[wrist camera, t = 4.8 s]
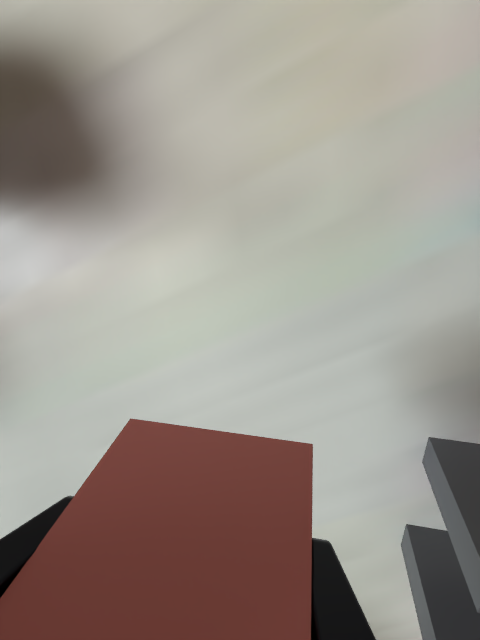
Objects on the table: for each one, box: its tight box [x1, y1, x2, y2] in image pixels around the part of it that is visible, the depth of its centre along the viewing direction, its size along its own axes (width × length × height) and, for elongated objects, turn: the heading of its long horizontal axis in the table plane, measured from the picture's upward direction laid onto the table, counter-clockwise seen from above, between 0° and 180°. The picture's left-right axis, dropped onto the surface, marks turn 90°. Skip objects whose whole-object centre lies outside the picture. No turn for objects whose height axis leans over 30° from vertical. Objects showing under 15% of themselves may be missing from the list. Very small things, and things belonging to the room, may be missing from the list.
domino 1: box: [0, 419, 313, 640], centre depth 8 cm, size 2×5×8 cm, turn 88°
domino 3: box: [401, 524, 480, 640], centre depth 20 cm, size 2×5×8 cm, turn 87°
